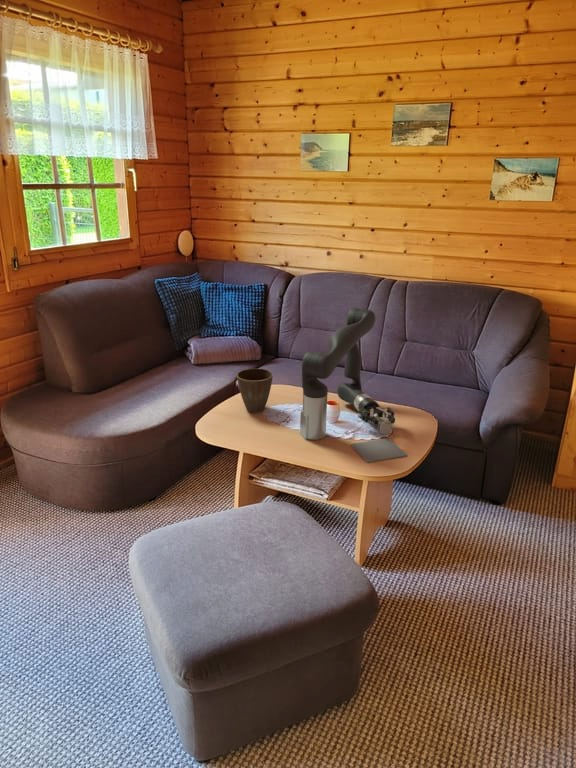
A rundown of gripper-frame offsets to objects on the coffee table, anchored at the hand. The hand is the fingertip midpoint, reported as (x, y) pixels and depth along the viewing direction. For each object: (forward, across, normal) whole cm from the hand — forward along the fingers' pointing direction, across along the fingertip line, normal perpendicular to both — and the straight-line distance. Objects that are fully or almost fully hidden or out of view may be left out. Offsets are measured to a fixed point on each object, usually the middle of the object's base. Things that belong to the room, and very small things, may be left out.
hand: (385, 422), depth 212 cm
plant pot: (-39, -41, +6) cm, 57 cm away
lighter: (-3, 0, +6) cm, 7 cm away
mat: (+10, -8, +6) cm, 14 cm away
